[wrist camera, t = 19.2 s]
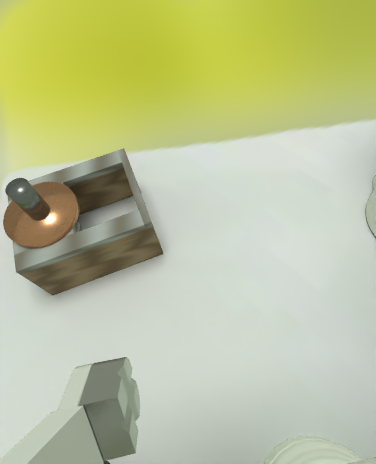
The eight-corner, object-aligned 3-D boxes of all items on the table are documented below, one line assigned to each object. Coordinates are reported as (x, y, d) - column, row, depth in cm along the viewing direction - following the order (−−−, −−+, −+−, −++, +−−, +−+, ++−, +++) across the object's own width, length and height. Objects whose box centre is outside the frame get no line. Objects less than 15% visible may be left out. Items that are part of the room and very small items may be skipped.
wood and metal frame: (138, 187, 57) (123, 148, 48) (163, 253, 50) (151, 222, 42) (40, 222, 55) (6, 188, 46) (52, 295, 49) (15, 271, 40)
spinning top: (85, 196, 51) (51, 145, 41) (98, 248, 46) (64, 205, 36) (23, 217, 50) (-27, 171, 40) (31, 273, 45) (-23, 236, 35)
